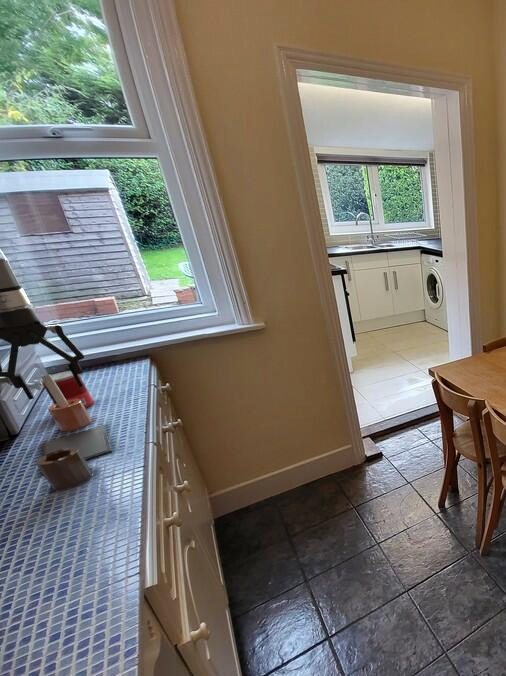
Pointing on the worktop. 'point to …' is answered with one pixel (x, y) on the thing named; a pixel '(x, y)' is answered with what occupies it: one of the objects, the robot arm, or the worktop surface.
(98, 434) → the tablet
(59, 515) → the worktop surface
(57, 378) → the canned food
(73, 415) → the pen holder
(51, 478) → the stand
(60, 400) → the cream long square bar
